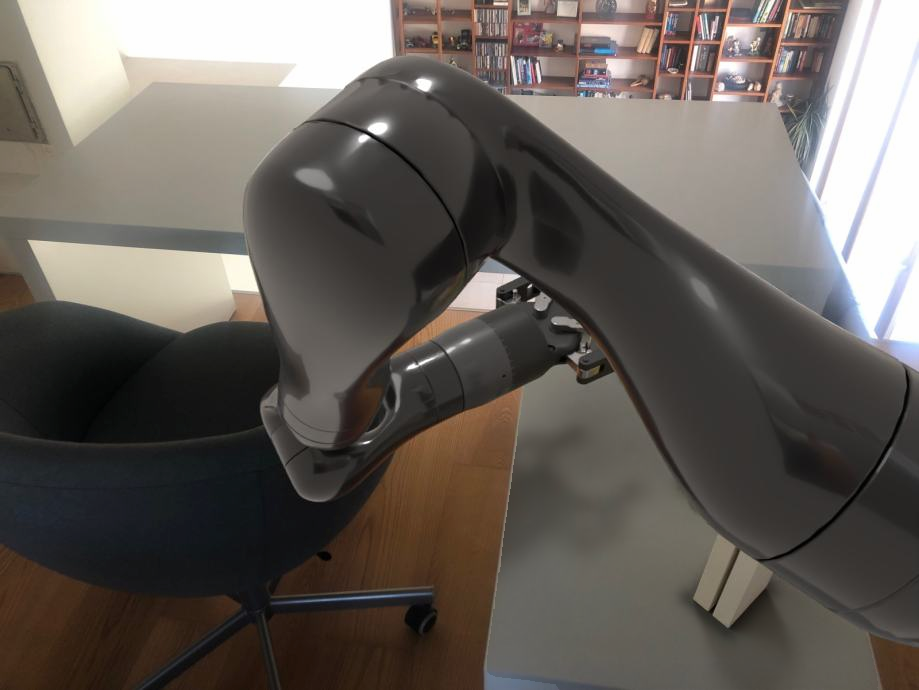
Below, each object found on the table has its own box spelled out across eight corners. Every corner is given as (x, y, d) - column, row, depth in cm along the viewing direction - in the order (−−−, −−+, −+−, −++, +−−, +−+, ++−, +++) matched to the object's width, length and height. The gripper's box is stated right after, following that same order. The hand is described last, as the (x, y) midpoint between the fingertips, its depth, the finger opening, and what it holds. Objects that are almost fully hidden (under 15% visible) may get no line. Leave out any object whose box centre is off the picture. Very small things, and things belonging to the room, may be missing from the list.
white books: (766, 586, 62) (811, 498, 54) (727, 628, 59) (769, 542, 51) (731, 560, 64) (769, 470, 56) (692, 599, 61) (726, 511, 53)
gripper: (536, 372, 56) (678, 303, 62) (441, 286, 65) (574, 233, 71) (531, 435, 61) (663, 364, 67) (443, 346, 70) (568, 292, 76)
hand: (617, 297), depth 69 cm, fingers open, 8 cm apart
